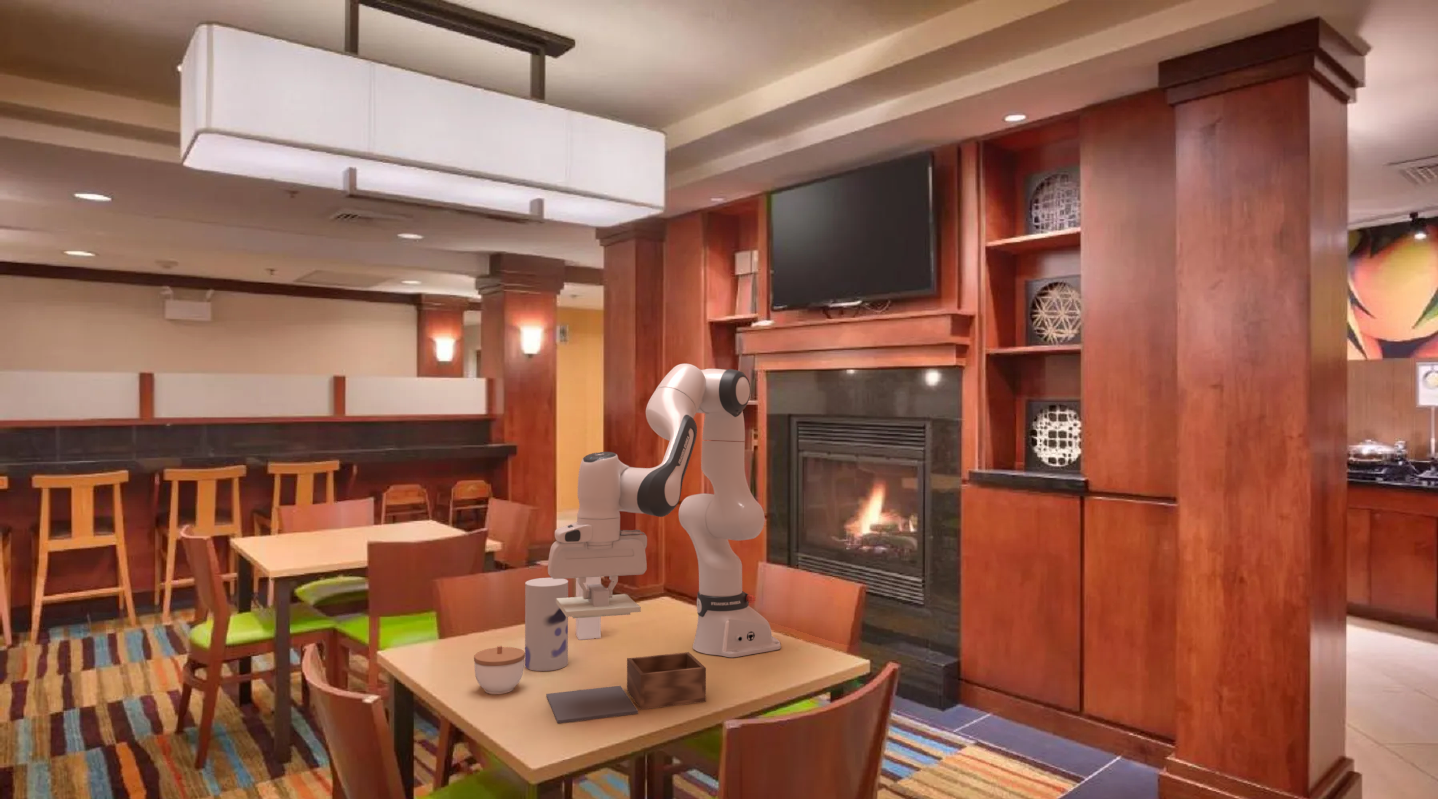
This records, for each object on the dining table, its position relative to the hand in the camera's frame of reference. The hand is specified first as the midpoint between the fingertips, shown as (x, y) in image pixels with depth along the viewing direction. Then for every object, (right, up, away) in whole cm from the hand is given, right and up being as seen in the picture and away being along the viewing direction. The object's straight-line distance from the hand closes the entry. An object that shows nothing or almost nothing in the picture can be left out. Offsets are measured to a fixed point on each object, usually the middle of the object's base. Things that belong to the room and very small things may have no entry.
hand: (597, 598), depth 171 cm
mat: (-1, -22, 0) cm, 22 cm away
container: (-16, -23, +26) cm, 38 cm away
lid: (0, -3, 0) cm, 3 cm away
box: (+14, -22, +5) cm, 26 cm away
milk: (-10, -23, +52) cm, 57 cm away
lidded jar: (-23, -22, +9) cm, 33 cm away
